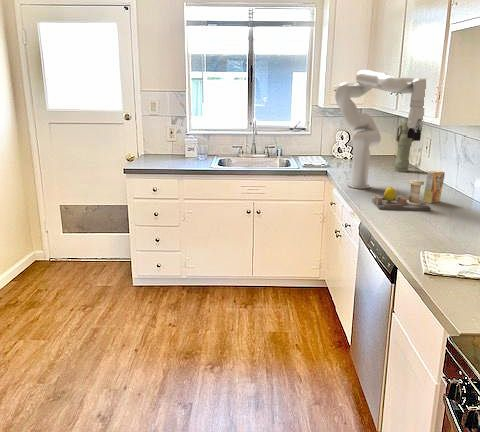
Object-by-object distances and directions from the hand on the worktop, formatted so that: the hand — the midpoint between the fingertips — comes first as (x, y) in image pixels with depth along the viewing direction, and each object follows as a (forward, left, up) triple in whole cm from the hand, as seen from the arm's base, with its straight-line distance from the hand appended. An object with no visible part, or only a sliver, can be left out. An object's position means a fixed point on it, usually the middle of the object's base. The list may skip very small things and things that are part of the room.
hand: (413, 139), depth 230 cm
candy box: (+7, +11, -31) cm, 33 cm away
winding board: (+18, -8, -30) cm, 36 cm away
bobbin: (+18, -2, -29) cm, 34 cm away
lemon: (+18, -14, -29) cm, 37 cm away
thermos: (-73, +19, -31) cm, 81 cm away
